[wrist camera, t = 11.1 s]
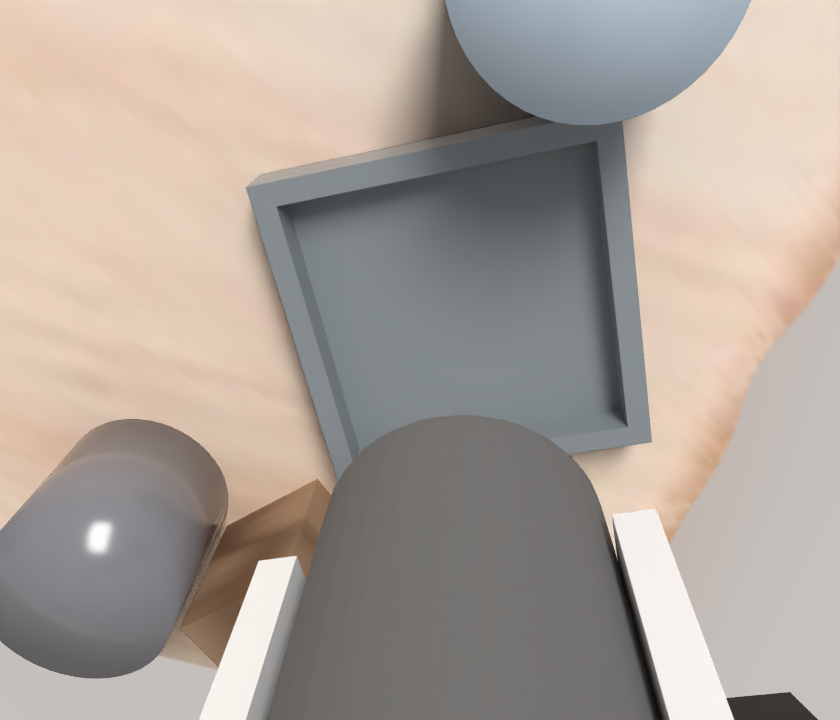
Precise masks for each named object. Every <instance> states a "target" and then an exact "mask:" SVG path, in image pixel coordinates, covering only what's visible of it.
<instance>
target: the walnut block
mask: <svg viewBox="0 0 840 720" xmlns="http://www.w3.org/2000/svg"><path fill="white" fill-rule="evenodd" d="M330 499H331V495H330V494H329V492H328V491H327V490H326V489H325V488H324V486H323V485H322V484H321V483H320V481H319V480H318V479H317V480H315V481H313V482H311V483H309V484H307V485H305V486H303V487H302V488H300V489H298V490H296V491H294V492H292V493H290V494H288V495H286V496H284V497H282V498H280V499H278V500H276V501H274V502H273V503H271V504H269V505H267V506H265V507H263V508H261V509H259V510H257V511H255V512H253V513H251V514H249V515H247V516H246V517H244V518H242V519H240V520H238V521H236V522H234V523H232V524H230V525H228V526H227V527H226V530H225V532H224V534H223V536H222V538H221V540H220V543H219V545H218V547H217V549H216V551H215V553H214V556H213V558H212V560H211V562H210V564H209V566H208V569H207V571H206V573H205V575H204V577H203V579H202V582H201V584H200V586H199V588H198V590H197V592H196V595H195V597H194V599H193V601H192V603H191V605H190V608H189V610H188V612H187V614H186V616H185V618H184V621H183V623H182V625H181V627H180V629H181V630H182V631H183V632H184V633H185V634H186V635H187V636H188V637H189V638H190V639H191V640H192V641H193V642H194V643H195V644H196V645H197V646H198V647H199V648H200V649H201V650H202V651H203V652H204V653H205V654H206V655H207V656H208V657H209V658H210V659H211V660H212V661H213V662H214V663H215V664H216V665H217V666H218V667H219V665H220V662H221V660H222V657H223V654H224V652H225V649H226V646H227V644H228V641H229V639H230V636H231V633H232V631H233V628H234V625H235V623H236V620H237V617H238V615H239V612H240V609H241V607H242V604H243V601H244V599H245V596H246V593H247V591H248V588H249V585H250V583H251V580H252V577H253V575H254V572H255V569H256V567H257V564H258V562H259V561H261V560H269V559H276V558H284V557H291V556H297V558H298V561H299V563H300V566H301V569H302V572H303V575H304V577H305V580H306V579H307V575H308V572H309V568H310V564H311V561H312V557H313V554H314V550H315V547H316V543H317V540H318V536H319V533H320V529H321V526H322V523H323V520H324V517H325V514H326V511H327V508H328V505H329V502H330Z"/></svg>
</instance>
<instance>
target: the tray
mask: <svg viewBox="0 0 840 720" xmlns="http://www.w3.org/2000/svg"><path fill="white" fill-rule="evenodd" d="M246 189H247V193H248V196H249V199H250V202H251V205H252V209H253V212H254V215H255V218H256V221H257V225H258V228H259V231H260V234H261V237H262V241H263V244H264V247H265V250H266V253H267V256H268V260H269V263H270V266H271V269H272V272H273V276H274V279H275V282H276V285H277V288H278V292H279V295H280V298H281V301H282V304H283V308H284V311H285V314H286V317H287V320H288V323H289V327H290V330H291V333H292V336H293V339H294V343H295V346H296V349H297V352H298V355H299V359H300V362H301V365H302V368H303V371H304V375H305V378H306V381H307V384H308V387H309V390H310V394H311V397H312V400H313V403H314V406H315V410H316V413H317V416H318V419H319V422H320V426H321V429H322V432H323V435H324V438H325V442H326V445H327V448H328V451H329V454H330V457H331V461H332V464H333V467H334V470H335V473H336V477H337V480H338V481H339V479H340V478H341V476H342V474H343V472H344V471H345V470H346V468H347V467H348V466H349V465H350V464H351V463H352V462H353V460H354V459H355V458H356V457H357V456H358V455H359V454H360V452H361V451H362V450H363V449H365V448H366V447H367V446H369V445H370V444H371V443H373V442H374V441H376V440H377V439H378V438H380V437H382V436H383V435H385V434H387V433H389V432H391V431H393V430H395V429H398V428H400V427H403V426H406V425H408V424H411V423H414V422H416V421H419V420H424V419H428V418H433V417H443V416H454V415H477V416H483V417H490V418H496V419H502V420H506V421H509V422H512V423H516V424H519V425H521V426H523V427H525V428H528V429H530V430H532V431H534V432H536V433H538V434H540V435H543V436H545V437H547V438H548V439H549V440H551V441H552V442H553V443H555V444H556V445H557V446H558V447H560V448H561V449H562V450H564V451H565V452H566V453H567V454H574V453H581V452H588V451H595V450H602V449H608V448H615V447H622V446H629V445H636V444H643V443H650V442H652V439H651V428H650V418H649V407H648V396H647V385H646V374H645V363H644V353H643V342H642V331H641V320H640V309H639V298H638V288H637V277H636V266H635V255H634V244H633V233H632V223H631V212H630V201H629V190H628V179H627V168H626V158H625V147H624V136H623V125H622V121H619V122H614V123H607V124H600V125H572V124H565V123H558V122H554V121H550V120H547V119H543V118H540V117H537V116H535V117H531V118H526V119H521V120H517V121H512V122H507V123H502V124H498V125H493V126H488V127H483V128H479V129H474V130H469V131H465V132H460V133H455V134H450V135H446V136H441V137H436V138H431V139H427V140H422V141H417V142H413V143H408V144H403V145H398V146H394V147H389V148H384V149H379V150H375V151H370V152H365V153H361V154H356V155H351V156H346V157H342V158H337V159H332V160H328V161H323V162H318V163H313V164H309V165H304V166H299V167H294V168H290V169H285V170H280V171H276V172H271V173H266V174H261V175H260V176H259V177H258V178H256V179H255V180H254V181H253V182H252V183H250V184H249V185H248V186H247V187H246Z"/></svg>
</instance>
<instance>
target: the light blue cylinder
mask: <svg viewBox="0 0 840 720" xmlns="http://www.w3.org/2000/svg"><path fill="white" fill-rule="evenodd" d="M750 1H751V0H445V2H446V6H447V10H448V14H449V19H450V21H451V24H452V27H453V29H454V32H455V35H456V37H457V40H458V42H459V43H460V45H461V47H462V49H463V51H464V53H465V55H466V57H467V58H468V60H469V61H470V63H471V64H472V65H473V67H474V68H475V70H476V71H477V72H478V74H479V75H480V76H481V77H482V78H483V79H484V80H485V81H486V82H487V84H488V85H489V86H490V87H491V88H492V89H493V90H495V91H496V92H497V93H498V94H500V95H501V96H502V97H503V98H504V99H506V100H507V101H509V102H510V103H512V104H514V105H515V106H517V107H518V108H520V109H522V110H524V111H526V112H528V113H530V114H533V115H535V116H537V117H540V118H543V119H547V120H550V121H554V122H558V123H565V124H572V125H600V124H607V123H614V122H619V121H622V120H626V119H630V118H633V117H636V116H639V115H641V114H643V113H646V112H648V111H651V110H653V109H655V108H657V107H659V106H660V105H662V104H664V103H666V102H668V101H669V100H671V99H673V98H674V97H675V96H677V95H678V94H680V93H681V92H682V91H684V90H685V89H686V88H688V87H689V86H690V85H691V84H692V83H694V82H695V81H696V80H697V79H698V78H699V77H700V76H701V75H702V74H703V73H704V72H706V70H707V69H708V68H709V67H710V66H711V65H712V64H713V62H714V61H715V60H716V59H717V58H718V57H719V55H720V54H721V53H722V52H723V50H724V49H725V47H726V46H727V44H728V43H729V41H730V40H731V39H732V37H733V36H734V34H735V32H736V30H737V28H738V27H739V25H740V23H741V21H742V19H743V17H744V15H745V13H746V11H747V9H748V6H749V4H750Z"/></svg>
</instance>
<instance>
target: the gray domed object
mask: <svg viewBox="0 0 840 720" xmlns="http://www.w3.org/2000/svg"><path fill="white" fill-rule="evenodd" d="M227 507H228V491H227V485H226V482H225V479H224V476H223V474H222V472H221V470H220V468H219V466H218V465H217V463H216V462H215V460H214V459H213V458H212V457H211V455H210V454H209V453H208V452H207V451H206V450H205V449H204V448H203V447H202V446H201V445H200V444H199V443H197V442H196V441H195V440H193V439H192V438H191V437H189V436H187V435H186V434H184V433H182V432H181V431H178V430H176V429H174V428H172V427H170V426H167V425H164V424H161V423H157V422H153V421H148V420H140V419H125V420H117V421H113V422H108V423H106V424H103V425H100V426H98V427H96V428H95V429H93V430H91V431H90V432H89V433H87V434H86V435H85V436H84V437H83V438H82V439H81V440H80V441H79V442H78V443H77V444H76V446H75V447H74V448H73V449H72V450H71V451H70V452H69V454H68V455H67V456H66V457H65V458H64V459H63V460H62V461H61V463H60V464H59V465H58V466H57V467H56V468H55V469H54V470H53V472H52V473H51V474H50V475H49V476H48V477H47V478H46V480H45V481H44V482H43V483H42V484H41V485H40V486H39V487H38V489H37V490H36V491H35V492H34V493H33V494H32V495H31V497H30V498H29V499H28V500H27V501H26V502H25V503H24V504H23V506H22V507H21V508H20V509H19V510H18V511H17V512H16V514H15V515H14V516H13V517H12V518H11V519H10V520H9V521H8V523H7V524H6V525H5V526H4V527H3V528H2V529H1V530H0V641H1V642H2V643H3V644H5V645H6V646H7V647H8V648H10V649H11V650H12V651H14V652H15V653H17V654H18V655H20V656H21V657H23V658H25V659H26V660H28V661H30V662H32V663H34V664H36V665H38V666H41V667H43V668H46V669H48V670H51V671H54V672H58V673H61V674H65V675H70V676H74V677H82V678H110V677H116V676H122V675H125V674H128V673H132V672H133V671H136V670H139V669H141V668H142V667H144V666H146V665H147V664H149V663H150V662H151V661H152V660H154V659H155V658H156V657H157V656H158V654H159V653H160V652H161V651H162V649H163V647H164V646H165V644H166V642H167V640H168V638H169V636H170V633H171V631H172V629H173V627H174V625H175V623H176V621H177V618H178V616H179V614H180V612H181V610H182V608H183V606H184V604H185V601H186V599H187V597H188V595H189V593H190V591H191V589H192V586H193V584H194V582H195V580H196V578H197V576H198V574H199V571H200V569H201V567H202V565H203V563H204V561H205V559H206V557H207V554H208V552H209V550H210V548H211V546H212V544H213V542H214V539H215V537H216V535H217V533H218V531H219V529H220V527H221V525H222V522H223V520H224V518H225V515H226V512H227Z"/></svg>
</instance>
